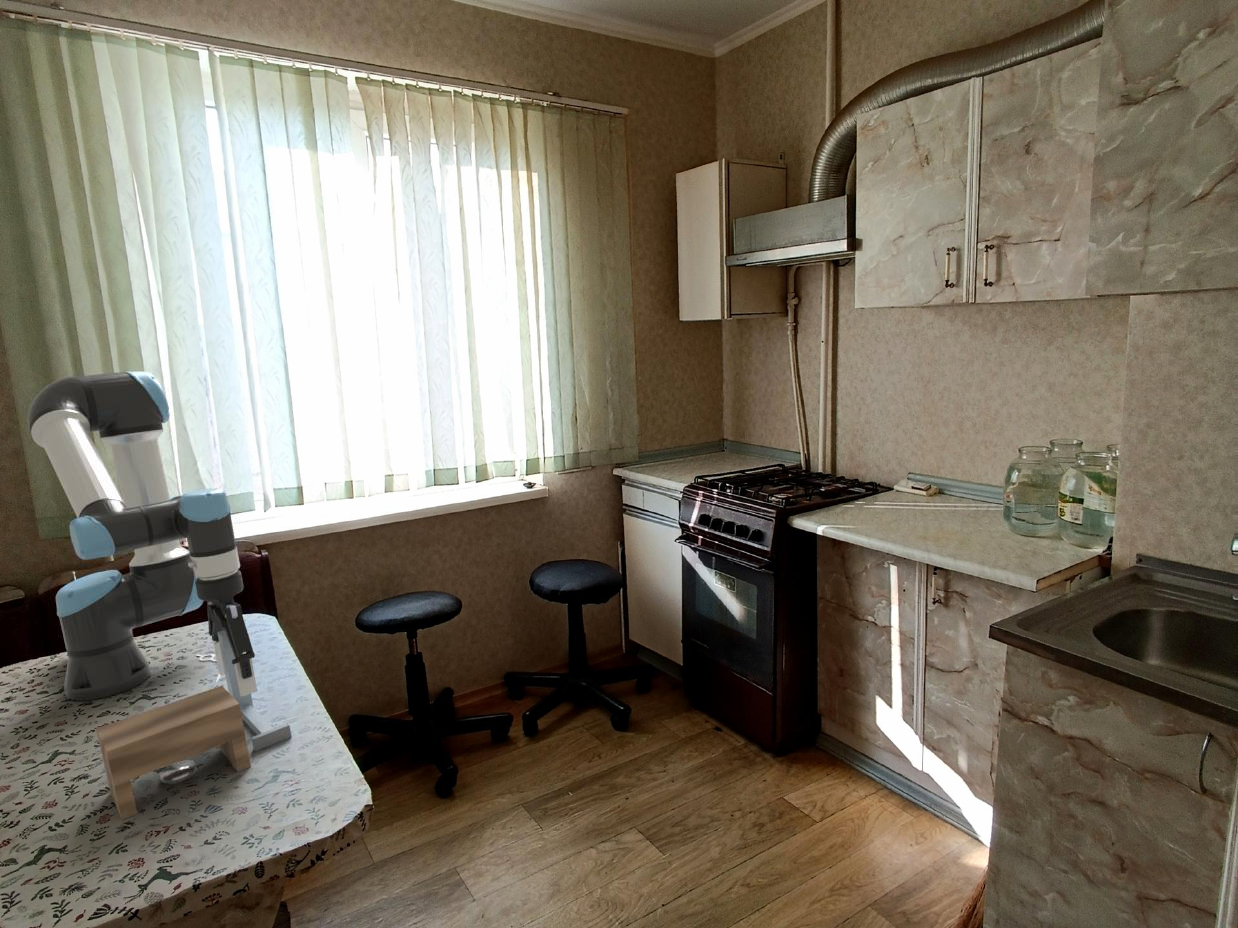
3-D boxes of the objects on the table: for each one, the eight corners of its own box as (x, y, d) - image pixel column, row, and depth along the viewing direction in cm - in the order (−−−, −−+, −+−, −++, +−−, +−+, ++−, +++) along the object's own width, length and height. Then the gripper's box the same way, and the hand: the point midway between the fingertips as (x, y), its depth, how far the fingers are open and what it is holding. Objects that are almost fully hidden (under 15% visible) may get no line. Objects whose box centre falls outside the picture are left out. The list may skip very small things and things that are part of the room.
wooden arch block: (110, 792, 119) (96, 728, 117) (233, 744, 131) (221, 685, 129) (121, 819, 112) (106, 751, 110) (250, 766, 123) (239, 703, 121)
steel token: (158, 777, 123) (156, 769, 123) (192, 764, 126) (191, 756, 126) (165, 789, 119) (163, 781, 119) (200, 775, 122) (198, 767, 122)
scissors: (247, 642, 177) (254, 670, 160) (248, 645, 177) (255, 674, 160) (196, 654, 172) (197, 686, 155) (196, 658, 172) (198, 689, 155)
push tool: (223, 715, 142) (208, 634, 139) (257, 702, 146) (243, 624, 143) (255, 751, 128) (238, 662, 125) (291, 736, 132) (276, 650, 129)
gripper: (178, 567, 145) (198, 671, 149) (213, 593, 126) (235, 711, 130) (221, 557, 150) (239, 658, 153) (260, 580, 131) (280, 694, 135)
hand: (237, 682), depth 142 cm, fingers open, 13 cm apart
